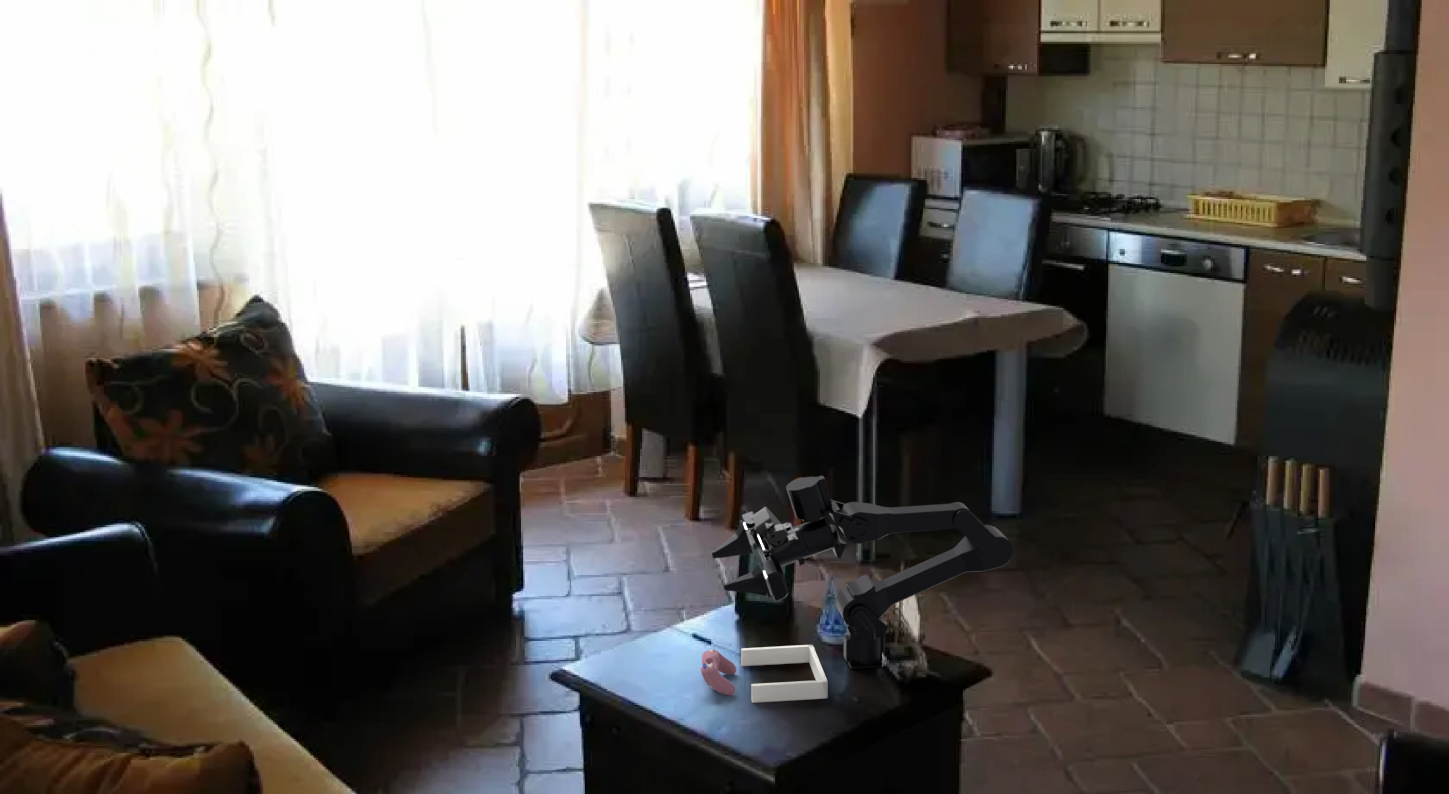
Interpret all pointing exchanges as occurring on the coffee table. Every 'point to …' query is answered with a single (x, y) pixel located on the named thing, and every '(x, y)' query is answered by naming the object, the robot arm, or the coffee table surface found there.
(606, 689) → the coffee table surface
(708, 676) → the pink curved piece
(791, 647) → the white u-shaped bracket
